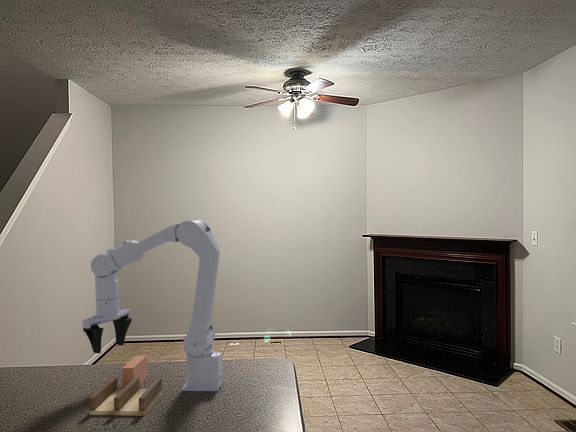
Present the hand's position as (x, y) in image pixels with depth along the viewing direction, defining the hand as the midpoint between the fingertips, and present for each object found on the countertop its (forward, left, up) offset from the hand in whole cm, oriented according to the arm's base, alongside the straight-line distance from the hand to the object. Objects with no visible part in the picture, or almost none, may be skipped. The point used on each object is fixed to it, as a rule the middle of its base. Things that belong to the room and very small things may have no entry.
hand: (108, 348), depth 130 cm
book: (-7, -1, -10) cm, 12 cm away
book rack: (-10, +12, -10) cm, 18 cm away
